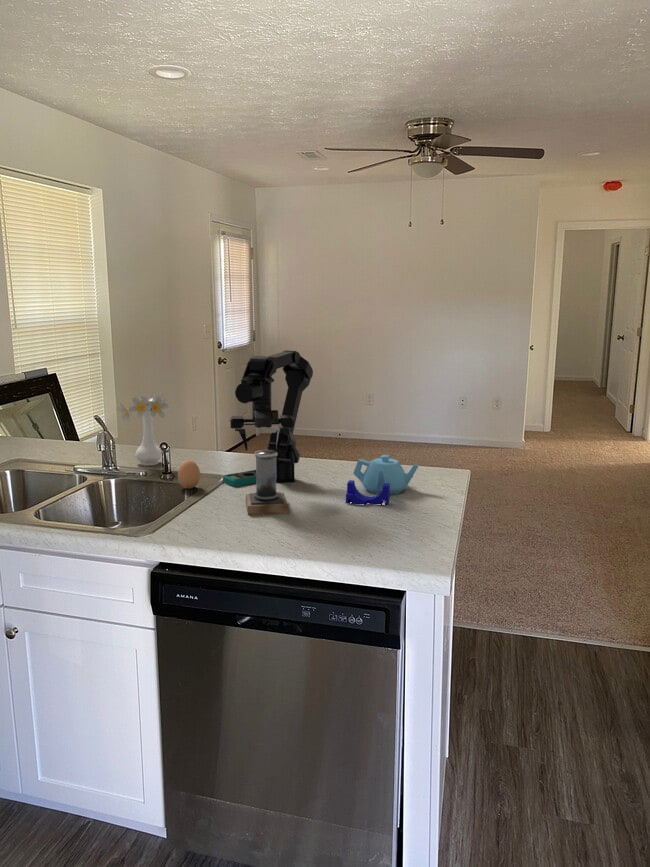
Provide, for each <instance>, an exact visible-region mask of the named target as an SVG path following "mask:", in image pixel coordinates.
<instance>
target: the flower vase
mask: <svg viewBox="0 0 650 867" xmlns="http://www.w3.org/2000/svg"><path fill="white" fill-rule="evenodd" d="M155 396H156V393H154V392H153V393H151V394H149V395H147V394H146V393H145V392H141V393H140V394H139V396H138V397H136V396H133V397H132V403H133V404H134V405H132V406H131V407H129V408H128V407H127V406H126V405H124V404H123V402H121V401H119V404H120V406H118V407H117V408H116V409H117V411H118V412H119V413H122V416H121V418H122V421H123V422H125V421H126V420H127V421H128V423H130V422H131V418H130V414H133V413H134V412H137V413H136V414H137V417H138V418H141V417H142V421H143V422H142V423H143V424H142V425H143V434H142V436H143V438H142V442H141V444H140V446H139V447H137V449H136V451H135V453H134V454H135V458H136V460H137V461H139V463H140V465H141V466H144V465H145V466H146V465H151V466H155V465H159V461H160V460H161V459H162V458H163V456H162V454H161V450H162V449H161V447H160V446H159V445H158V444H157V443H156V441H155V438H154V430H153V417H155V416H156V415H158V416H159V417H161V418H165V415H166V414H165V413H164V411H163V410H165V409H168V410H169V411H172V409H171V408H170V407H169V404H168V401H167V399H166V398H163V394H162V392H161V391H159V395H157V396H156V398H155ZM154 398H155V399H154ZM159 447H160V448H159ZM160 449H161V450H160ZM145 466H144V467H145Z"/></svg>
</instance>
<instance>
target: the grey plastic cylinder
mask: <svg viewBox="0 0 650 867" xmlns="http://www.w3.org/2000/svg"><path fill="white" fill-rule="evenodd" d="M254 456H255V470H256V483H255V484H256V485H255V487H256V488H255V489H256V491H255V492H254V498H255V499H256V500H259V501H273V500H276V499H278V493H277V482H276V456H277V451H274V450H267V449H260V450H256V451H254Z"/></svg>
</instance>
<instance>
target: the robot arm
mask: <svg viewBox="0 0 650 867" xmlns="http://www.w3.org/2000/svg"><path fill="white" fill-rule="evenodd" d="M278 369H282V371H283V373H284V374H285V377H284V380H285V382H286V385H287V390H286V395H285V400H284V402H283V403H284V404H283V408H282V411H281V412H282V413H281V415H279V410H278V409H277V410H276V409H274V410H273V409H272V383H274V382H275V379H274V378H273V377H272V376H274V374H276V373H277V370H278ZM313 375H314V370H313V368H312V366H311V364H310V362H309V361H308V360H306V359H305V358H304V357H303V356H302V355H301V354H300V352H299V351H297V350H288V349H287V350H283V351H281V352H278V353H274V354H271V355H268V356H263V355H251V356H250V357H249V360H248V362H247V363H246V367H245V370H244V372H243V375H242V377H241V378H242V379H241V380H240V382H241V383H240V384H238V385H237V386H236V388H235V390H234V391H235V392H234V395H235V398H236V399H237V401H238V402H239V403H242V404H248V403H251V409H252V410H251V414H252V417H251V418H244V416H243V415H233V416H232V415H231V416H230V418H229V426H230V429H234V431H235V432H238V433H239V435H240V437H241V439H242V442H243V444H244V448H245V450H246V451H248V440H247V434H246V427H245V426H254V427H256V428H258V429H261V428H268V429H269V428H272V426H273V425H277V430H276V431H275V432H271V433H270V434H269V435H270V436H269V441H268V444H267V449H266V450H274V451H277V456H276V483H290V482H291V483H293V482H296V479H295V464H298V463H299V461H300V457H301V454H300V452H299V451H298V449H297V447H296V444H297V441H296V438H295V436H294V430H295V427H296V426H295V425H296V422H297V418H298V413H299V408H300V404H301V400H302V395H303V392H304V391H305V390H306V389H307V388H308V387H309V386H310V383H311V379H312V378H313Z"/></svg>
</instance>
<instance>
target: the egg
mask: <svg viewBox="0 0 650 867" xmlns="http://www.w3.org/2000/svg"><path fill="white" fill-rule="evenodd" d="M177 479H178V482H179V484H180V486H182V487H183V488H185V489H189V490H190V489H194V488H195V487H196V486H197V485H198V483H200V480H201V470H200V468H199V466H198V465H197V463H196V462H195V461H193V460H191V459H187V460H184V461H183V462H181V464H180V466H179V468H178V470H177Z"/></svg>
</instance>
